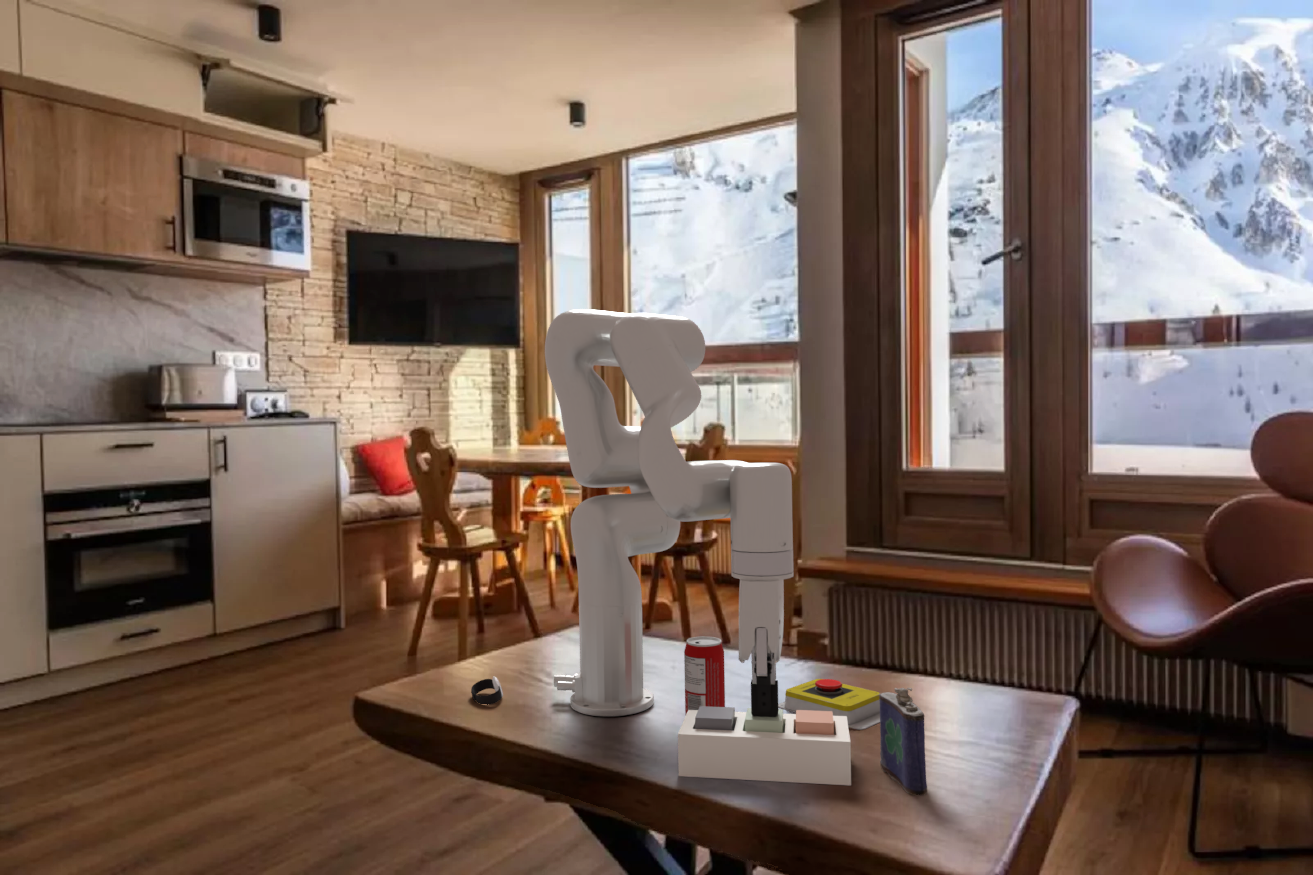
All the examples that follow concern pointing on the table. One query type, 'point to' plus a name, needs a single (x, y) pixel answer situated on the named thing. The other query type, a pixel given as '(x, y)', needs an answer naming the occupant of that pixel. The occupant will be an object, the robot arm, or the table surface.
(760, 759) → the key block
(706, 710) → the charcoal key
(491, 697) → the watch
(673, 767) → the table surface
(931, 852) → the table surface
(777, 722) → the sage key
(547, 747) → the table surface
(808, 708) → the emergency button
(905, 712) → the flask
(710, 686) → the soda can
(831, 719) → the terracotta key
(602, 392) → the robot arm
